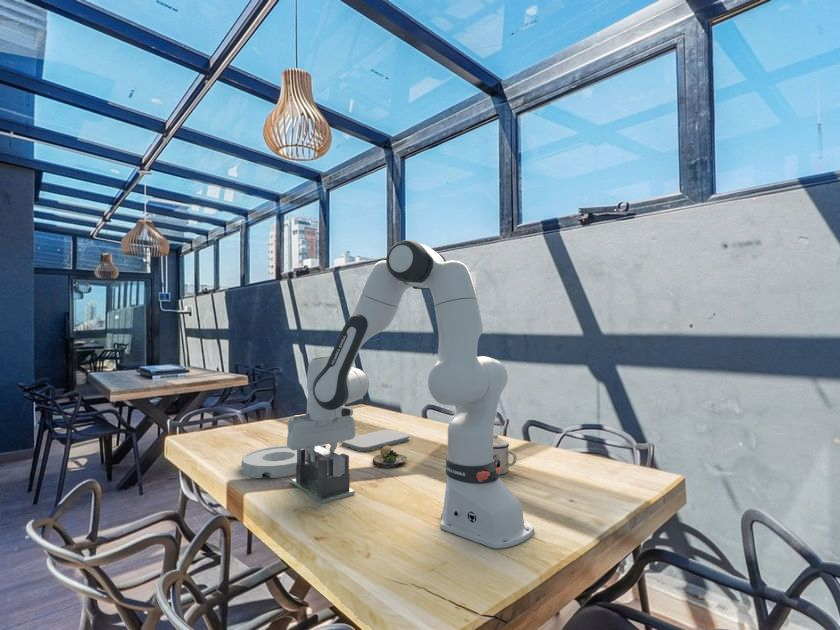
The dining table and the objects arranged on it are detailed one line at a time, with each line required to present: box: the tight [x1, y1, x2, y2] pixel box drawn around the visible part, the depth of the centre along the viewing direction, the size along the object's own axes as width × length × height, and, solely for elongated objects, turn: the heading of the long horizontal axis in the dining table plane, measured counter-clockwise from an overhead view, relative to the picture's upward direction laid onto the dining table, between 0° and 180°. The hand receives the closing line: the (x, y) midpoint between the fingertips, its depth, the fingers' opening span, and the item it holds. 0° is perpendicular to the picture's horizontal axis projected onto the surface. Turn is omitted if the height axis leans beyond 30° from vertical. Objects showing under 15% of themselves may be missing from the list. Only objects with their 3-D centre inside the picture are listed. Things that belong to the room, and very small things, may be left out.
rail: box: [304, 446, 345, 477], centre depth 124 cm, size 20×4×4 cm, turn 39°
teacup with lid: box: [493, 433, 517, 475], centre depth 138 cm, size 12×9×12 cm
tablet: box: [341, 429, 410, 452], centre depth 174 cm, size 16×26×2 cm, turn 136°
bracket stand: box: [290, 444, 356, 504], centre depth 124 cm, size 20×10×10 cm, turn 39°
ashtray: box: [241, 445, 307, 479], centre depth 144 cm, size 23×23×4 cm
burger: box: [372, 443, 408, 469], centre depth 147 cm, size 12×12×8 cm
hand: (322, 459), depth 124 cm, fingers closed on rail, 3 cm apart
